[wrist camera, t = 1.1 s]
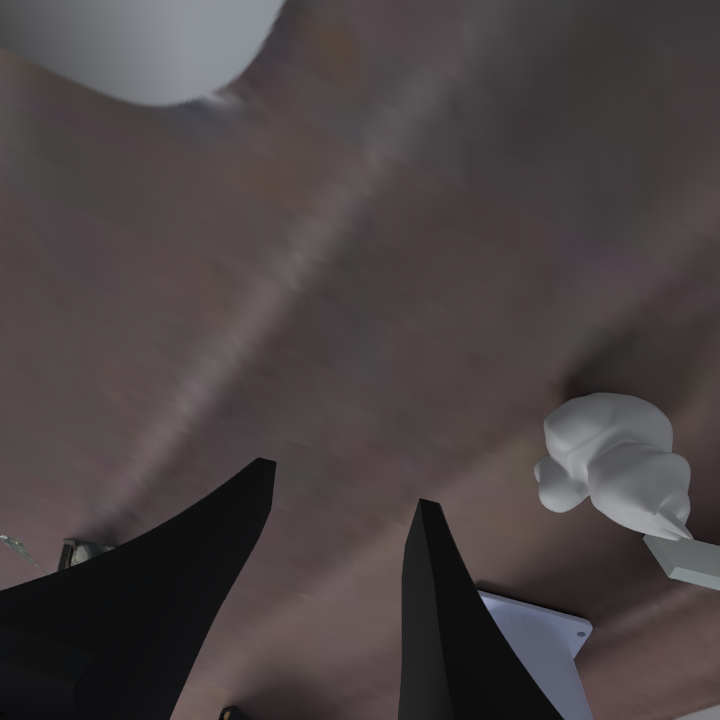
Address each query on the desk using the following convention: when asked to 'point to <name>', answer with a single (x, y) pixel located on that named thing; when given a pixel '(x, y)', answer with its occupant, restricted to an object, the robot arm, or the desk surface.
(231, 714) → the ammunition clip
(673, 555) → the bay
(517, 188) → the desk surface
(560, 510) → the rubber duck
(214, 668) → the desk surface
